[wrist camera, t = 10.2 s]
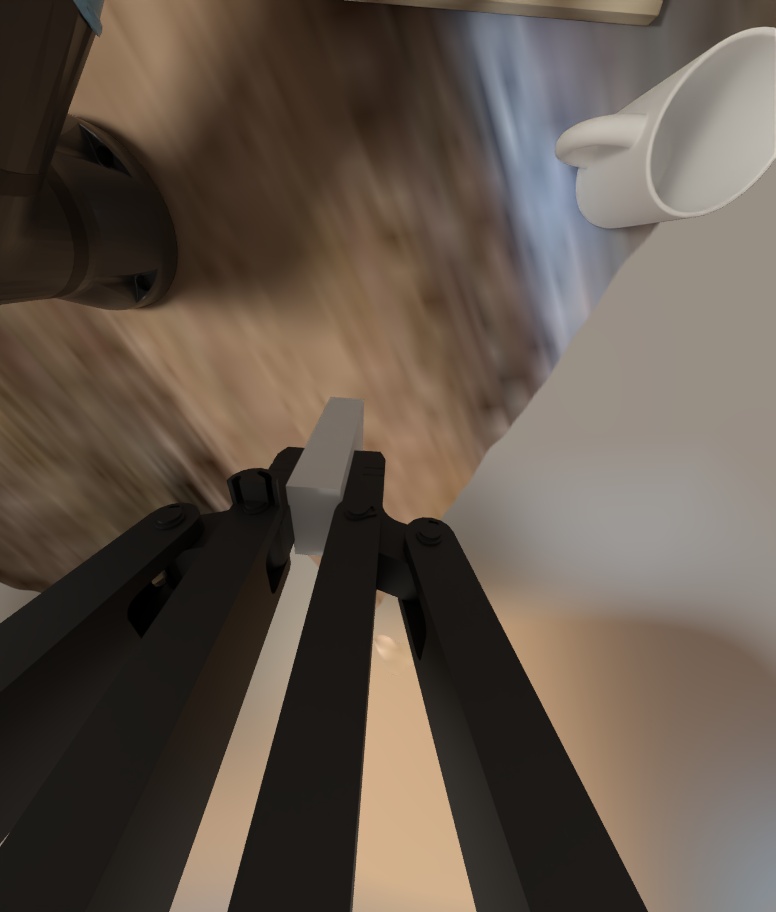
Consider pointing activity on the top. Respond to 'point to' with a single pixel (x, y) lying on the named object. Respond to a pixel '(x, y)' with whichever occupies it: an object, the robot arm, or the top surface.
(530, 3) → the board
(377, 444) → the top surface
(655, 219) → the mug
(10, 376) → the top surface
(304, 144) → the top surface
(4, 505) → the top surface
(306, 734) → the robot arm
